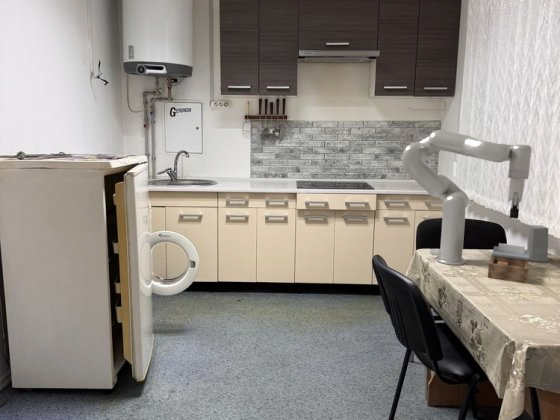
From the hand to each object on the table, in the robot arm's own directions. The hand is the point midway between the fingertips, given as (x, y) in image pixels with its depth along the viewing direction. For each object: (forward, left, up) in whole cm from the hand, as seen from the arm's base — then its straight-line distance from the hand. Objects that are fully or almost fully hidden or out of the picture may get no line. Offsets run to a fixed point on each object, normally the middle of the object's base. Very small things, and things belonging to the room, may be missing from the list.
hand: (513, 217), depth 190 cm
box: (0, -10, -23) cm, 25 cm away
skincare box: (+10, +24, -23) cm, 35 cm away
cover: (0, +3, -16) cm, 17 cm away
